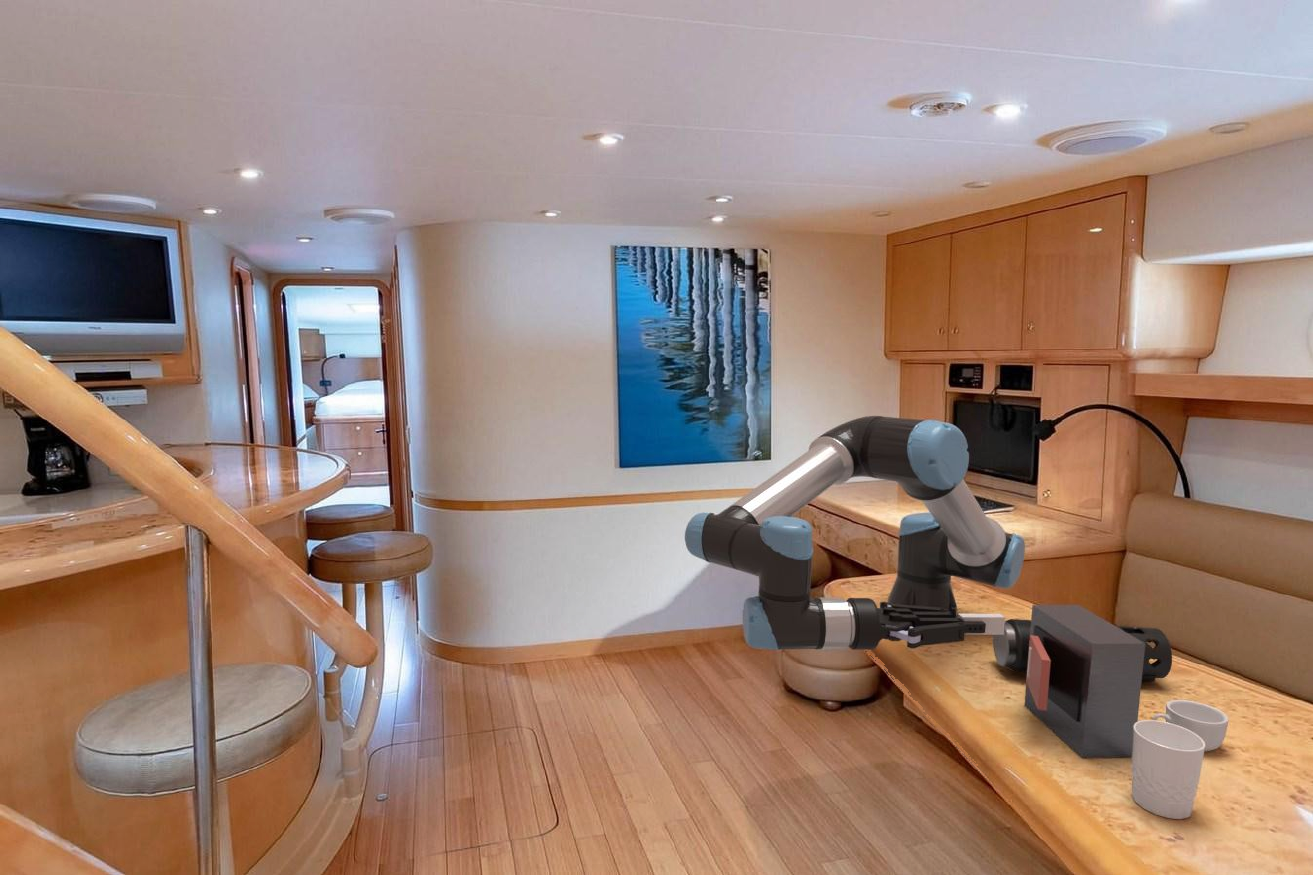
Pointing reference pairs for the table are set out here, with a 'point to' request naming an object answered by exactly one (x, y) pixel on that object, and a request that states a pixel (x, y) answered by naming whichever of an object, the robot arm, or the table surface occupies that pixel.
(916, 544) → the robot arm
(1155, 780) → the white cup
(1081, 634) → the switch box
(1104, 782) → the table surface
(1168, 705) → the teacup
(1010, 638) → the muzzle brake
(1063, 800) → the table surface
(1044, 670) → the rocker
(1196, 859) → the table surface
